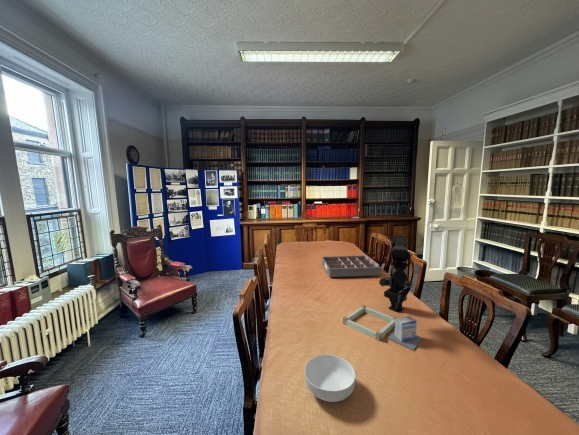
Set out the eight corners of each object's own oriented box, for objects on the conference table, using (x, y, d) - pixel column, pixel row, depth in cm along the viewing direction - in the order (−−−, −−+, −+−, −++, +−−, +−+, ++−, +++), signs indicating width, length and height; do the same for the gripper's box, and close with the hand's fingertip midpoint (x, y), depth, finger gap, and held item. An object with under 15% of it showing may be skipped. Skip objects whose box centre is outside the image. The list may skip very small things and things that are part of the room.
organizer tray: (321, 265, 210) (321, 254, 208) (365, 264, 211) (366, 253, 210) (329, 279, 178) (329, 266, 177) (381, 277, 180) (381, 264, 178)
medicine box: (401, 342, 104) (402, 323, 103) (394, 336, 108) (394, 318, 107) (416, 338, 106) (417, 320, 105) (408, 333, 110) (409, 315, 109)
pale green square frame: (362, 309, 133) (362, 304, 132) (397, 323, 119) (397, 317, 118) (342, 323, 120) (342, 317, 119) (379, 341, 106) (379, 334, 105)
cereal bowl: (347, 369, 89) (347, 352, 88) (362, 411, 73) (363, 390, 72) (302, 371, 89) (302, 354, 88) (307, 413, 72) (307, 392, 71)
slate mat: (397, 328, 114) (397, 327, 114) (422, 339, 106) (422, 337, 106) (387, 338, 107) (387, 337, 107) (413, 350, 99) (413, 349, 99)
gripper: (390, 265, 123) (389, 293, 126) (373, 276, 111) (372, 307, 113) (413, 271, 115) (411, 300, 118) (397, 282, 103) (396, 316, 105)
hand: (397, 305), depth 114 cm, fingers open, 9 cm apart
